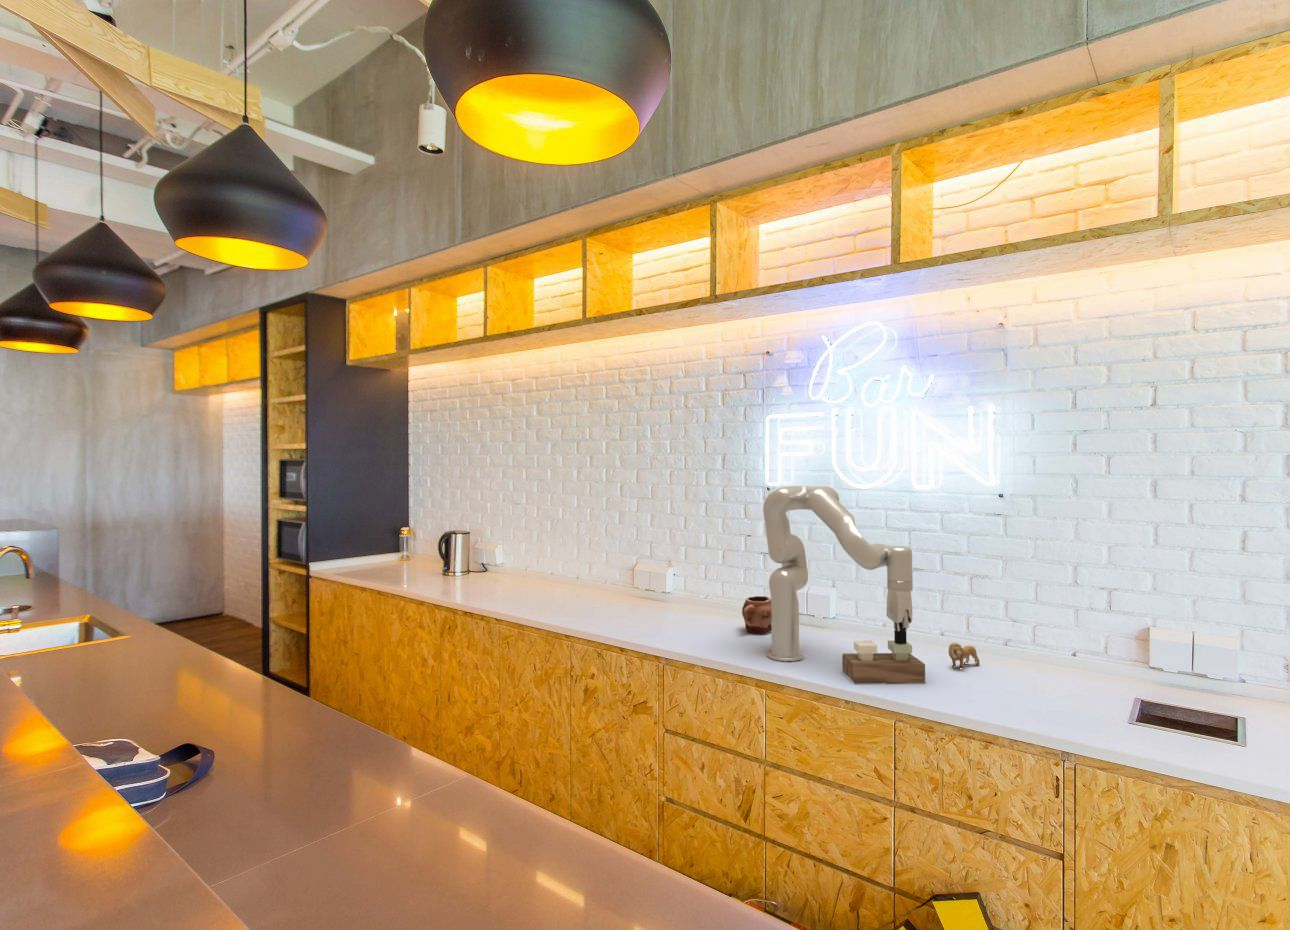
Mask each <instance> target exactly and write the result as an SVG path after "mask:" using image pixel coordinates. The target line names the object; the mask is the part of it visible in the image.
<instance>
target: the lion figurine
mask: <svg viewBox="0 0 1290 930" xmlns="http://www.w3.org/2000/svg"><path fill="white" fill-rule="evenodd" d="M948 655H949V657H950V659H951V661H952V665H951V666H952V667H954V666H957V665H956V663H957V662H958V661H959V668H963V669H964V664H963V663H967V664H968V663H969V661H970V656H971V657H972V658H973V660H974V662H975V666H976V665H979V666H981V664H980V659H979V657H978V654H977V650H976V648H975V646H973V645H966V646H963V647H962V645H961V644H960V643H958V642H952V643H950V644H949V645H948ZM964 660H965V661H964ZM956 661H957V662H956ZM952 667H951V668H952Z"/></svg>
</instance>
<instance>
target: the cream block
mask: <svg viewBox="0 0 1290 930" xmlns="http://www.w3.org/2000/svg"><path fill="white" fill-rule="evenodd" d="M853 650H854V651H856V652H857V653H858V659H859V660H860V661H873V654H877V653H878V645H877V644H876V643H875V642H873V640H853Z"/></svg>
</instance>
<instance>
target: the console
mask: <svg viewBox="0 0 1290 930" xmlns="http://www.w3.org/2000/svg"><path fill="white" fill-rule="evenodd" d="M841 656H842V671H843V672H844V673H845V674H846V675H847V676H848V677H849V678H850V679H851V680H852V681H853V682H854V683H886V684H885V685H893V684H895V685H902V684H901V683H925V684H926V663H924V662H922V661H921V660H920V659H919V658H917V657H916V656H914V655H913V654H912V653H908V661H895V660H894V659H893V658H892V652H886V653H885V652H882V653H881V652H877V654H873V661H860V660H859V659H858V652H857V653H854V652H852V653H851V652H850V653H847V652H846V653H842V655H841ZM843 672H842V673H843ZM844 673H843V674H844ZM845 674H844V675H845ZM846 675H845V676H846ZM847 676H846V677H847ZM848 677H847V678H848ZM849 678H848V679H849ZM850 679H849V680H850ZM851 680H850V681H851ZM852 681H851V682H852ZM853 682H852V683H853ZM854 683H853V684H854Z"/></svg>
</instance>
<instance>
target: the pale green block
mask: <svg viewBox="0 0 1290 930" xmlns="http://www.w3.org/2000/svg"><path fill="white" fill-rule="evenodd" d="M887 649H888V650H889V651H891V653H892V658H893V659H894V660H895V661H908V653H910V654H913V645H912V644H911V643H910V642H908V641H906V644H897V643H895V640H887Z"/></svg>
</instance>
